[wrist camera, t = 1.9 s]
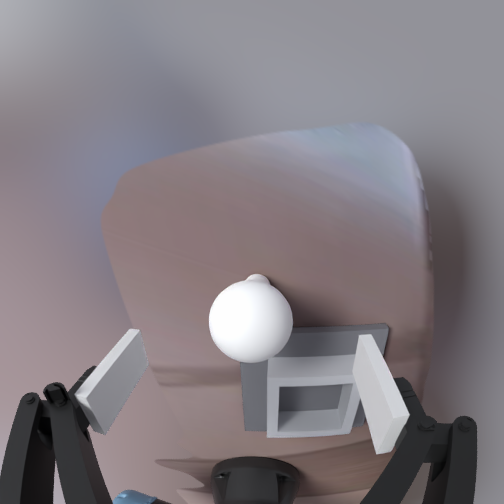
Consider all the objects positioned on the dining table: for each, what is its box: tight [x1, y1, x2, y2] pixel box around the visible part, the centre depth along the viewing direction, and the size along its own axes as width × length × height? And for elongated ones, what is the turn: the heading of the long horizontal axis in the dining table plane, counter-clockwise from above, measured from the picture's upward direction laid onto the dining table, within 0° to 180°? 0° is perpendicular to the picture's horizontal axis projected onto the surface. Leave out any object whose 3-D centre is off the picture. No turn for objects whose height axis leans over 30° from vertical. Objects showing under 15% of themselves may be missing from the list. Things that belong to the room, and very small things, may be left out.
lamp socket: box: [240, 323, 389, 438], centre depth 29 cm, size 16×16×5 cm
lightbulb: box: [209, 274, 293, 363], centre depth 23 cm, size 6×6×11 cm
